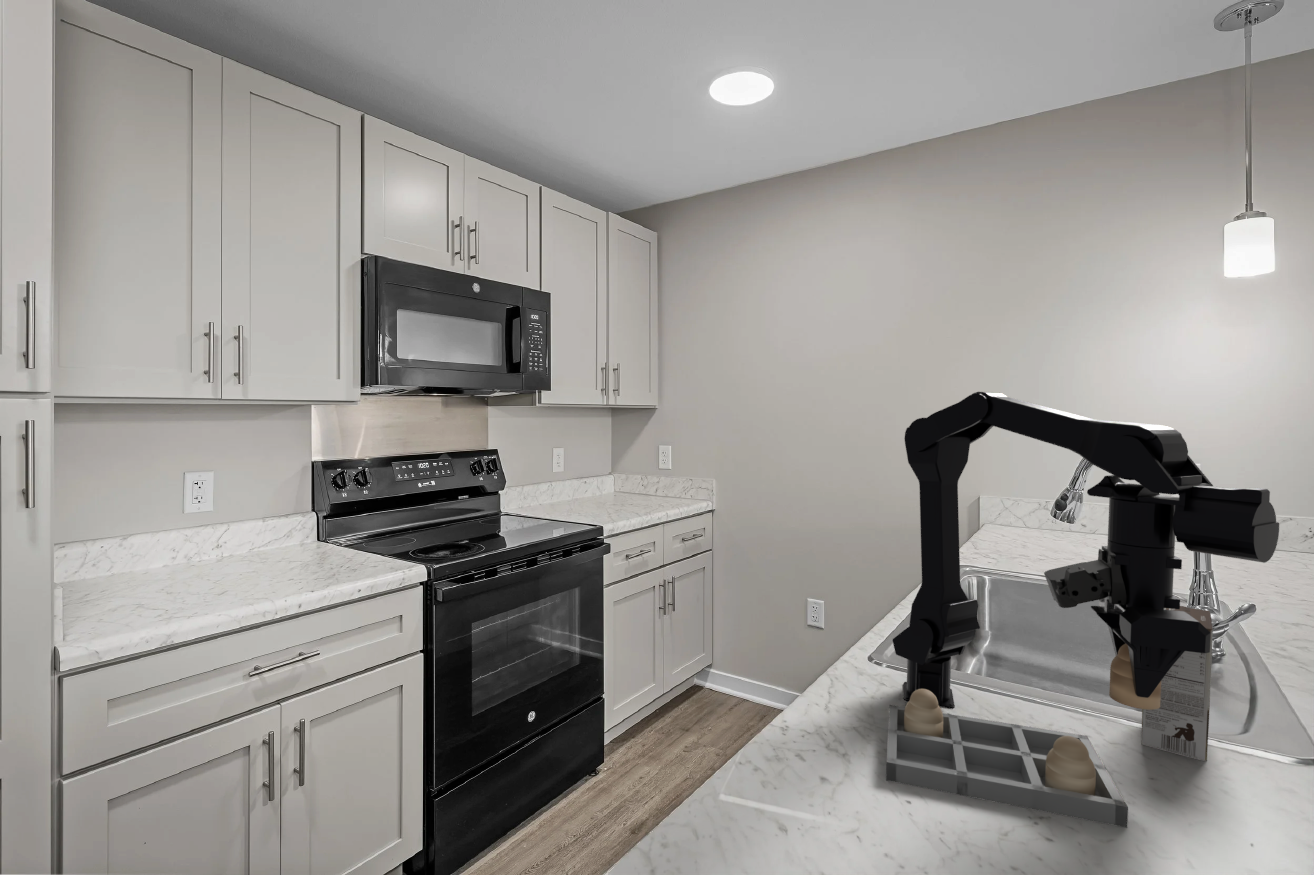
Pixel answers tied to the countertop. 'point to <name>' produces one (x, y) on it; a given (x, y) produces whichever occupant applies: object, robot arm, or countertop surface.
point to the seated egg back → (923, 714)
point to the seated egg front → (1070, 767)
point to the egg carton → (996, 766)
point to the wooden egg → (1129, 684)
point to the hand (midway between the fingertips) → (1134, 687)
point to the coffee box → (1183, 702)
